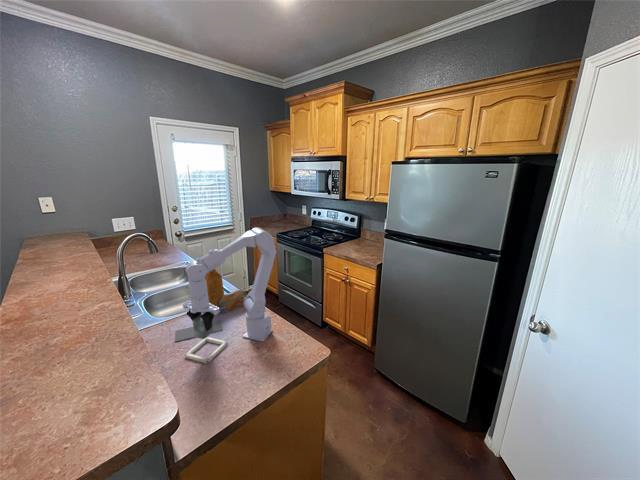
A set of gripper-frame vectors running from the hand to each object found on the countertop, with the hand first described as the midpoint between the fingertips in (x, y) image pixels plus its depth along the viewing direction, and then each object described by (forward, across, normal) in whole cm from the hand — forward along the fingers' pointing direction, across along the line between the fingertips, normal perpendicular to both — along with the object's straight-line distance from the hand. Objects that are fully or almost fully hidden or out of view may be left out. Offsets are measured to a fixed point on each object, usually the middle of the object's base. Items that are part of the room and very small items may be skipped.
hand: (203, 328), depth 96 cm
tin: (+10, -9, +29) cm, 32 cm away
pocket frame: (+9, 0, 0) cm, 9 cm away
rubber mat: (+9, -12, +9) cm, 17 cm away
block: (+2, 0, 0) cm, 3 cm away
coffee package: (+10, -22, +30) cm, 38 cm away
